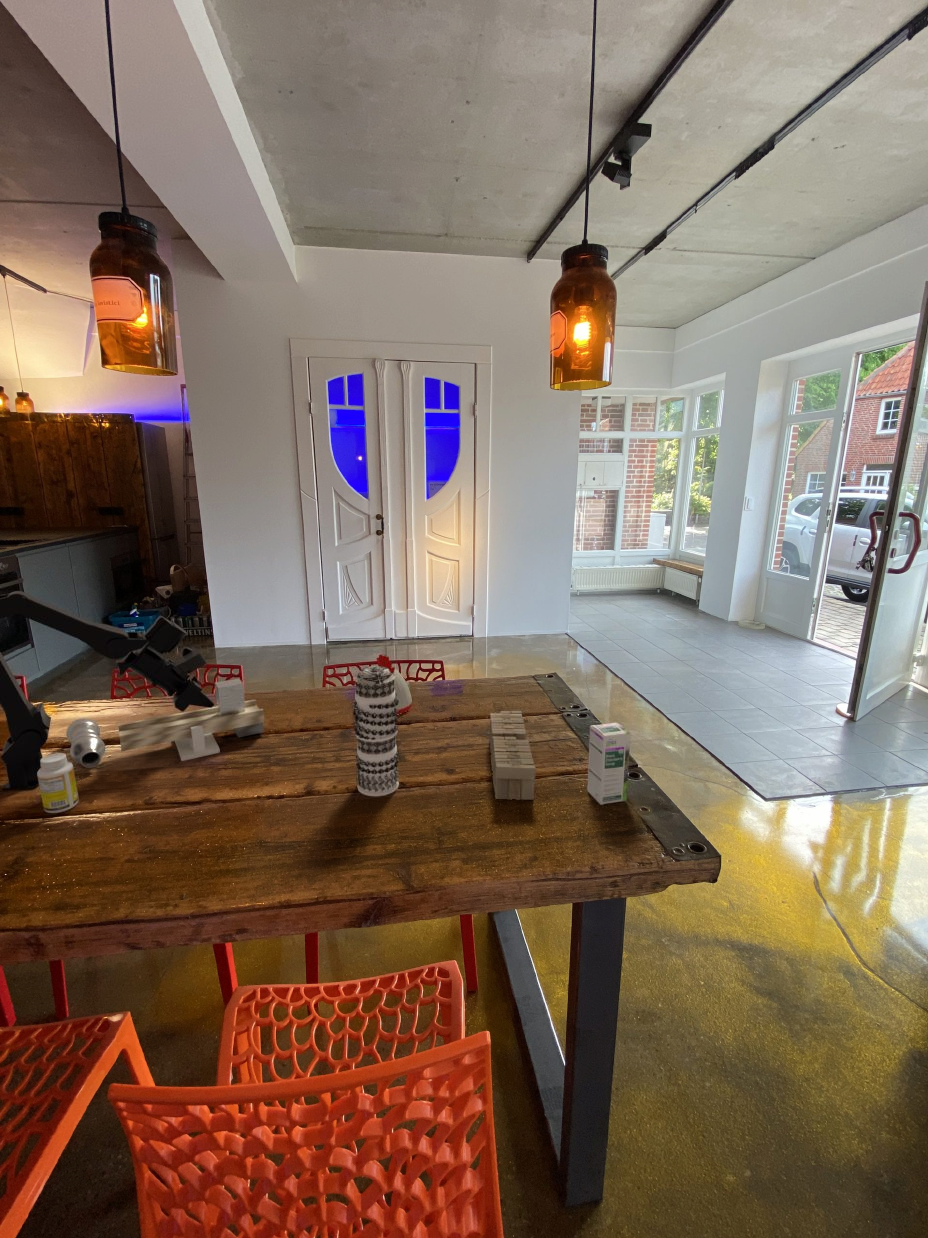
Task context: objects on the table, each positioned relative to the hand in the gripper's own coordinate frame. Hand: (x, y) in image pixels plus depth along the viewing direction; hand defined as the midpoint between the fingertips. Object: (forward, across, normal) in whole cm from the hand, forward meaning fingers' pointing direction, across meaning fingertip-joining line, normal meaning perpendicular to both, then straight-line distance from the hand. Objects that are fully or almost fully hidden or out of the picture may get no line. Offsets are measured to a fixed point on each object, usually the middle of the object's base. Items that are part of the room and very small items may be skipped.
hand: (212, 705), depth 135 cm
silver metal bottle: (-15, +17, +23) cm, 33 cm away
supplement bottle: (-15, -15, +28) cm, 35 cm away
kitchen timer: (+38, -2, -25) cm, 45 cm away
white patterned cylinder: (+24, -40, -11) cm, 48 cm away
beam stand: (+3, 0, +10) cm, 10 cm away
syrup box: (+49, -68, -37) cm, 92 cm away
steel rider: (+5, 0, -1) cm, 5 cm away
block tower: (+43, -49, -30) cm, 72 cm away
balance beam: (+3, 0, +9) cm, 9 cm away
